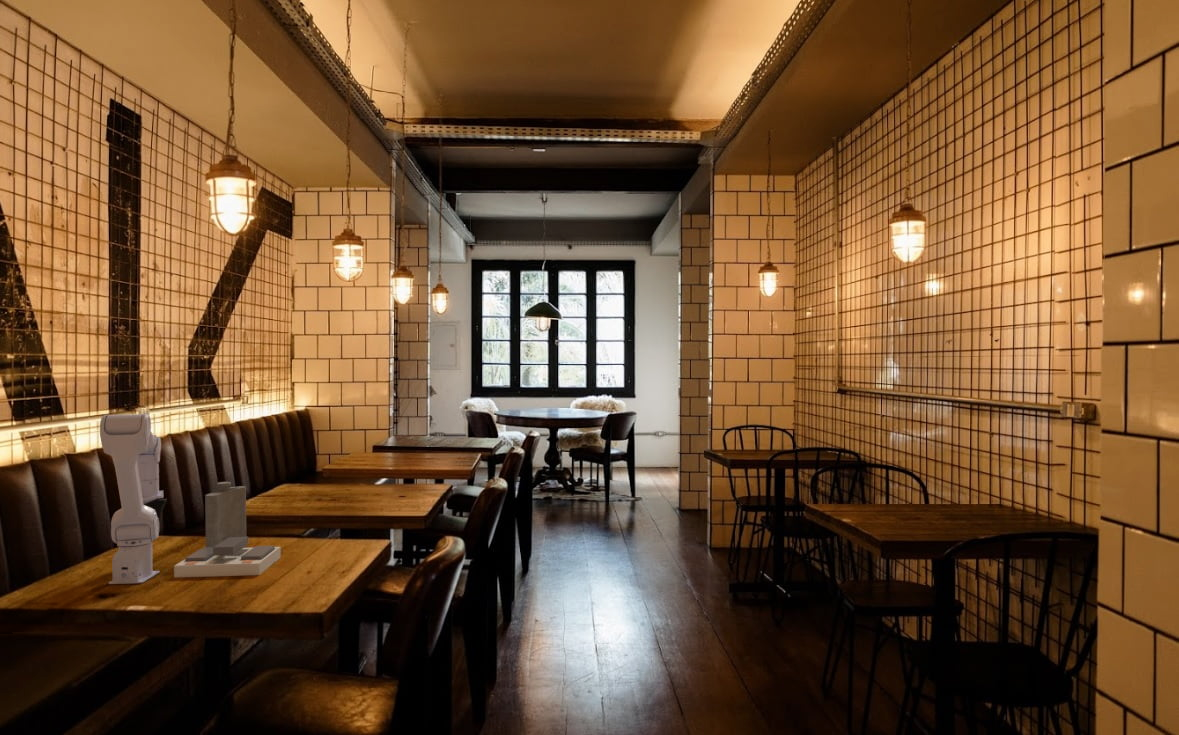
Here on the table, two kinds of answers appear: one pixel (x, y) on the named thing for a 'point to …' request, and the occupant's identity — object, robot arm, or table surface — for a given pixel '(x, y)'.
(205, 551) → the button
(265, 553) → the button
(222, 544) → the button middle
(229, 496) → the hip flask
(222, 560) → the switch unit
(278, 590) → the table surface
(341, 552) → the table surface
